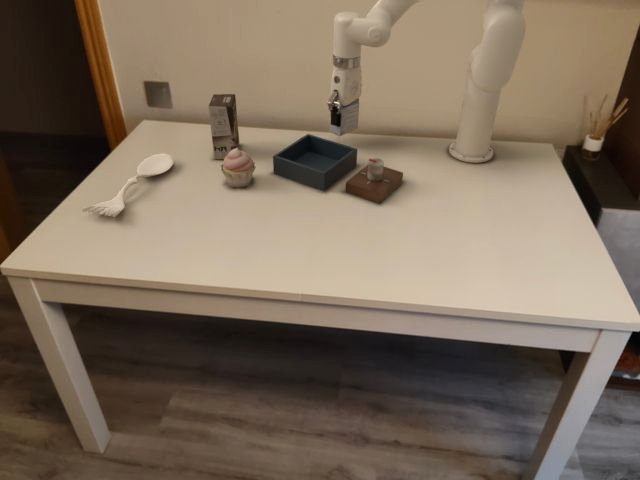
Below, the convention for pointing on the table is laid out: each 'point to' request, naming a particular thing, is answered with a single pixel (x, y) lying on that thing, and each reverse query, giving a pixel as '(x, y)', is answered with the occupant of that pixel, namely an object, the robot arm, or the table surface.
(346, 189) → the panel
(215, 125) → the coffee box
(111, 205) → the spoon
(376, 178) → the tap knob
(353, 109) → the medicine box
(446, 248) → the table surface
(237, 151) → the cupcake
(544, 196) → the table surface
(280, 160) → the open box
